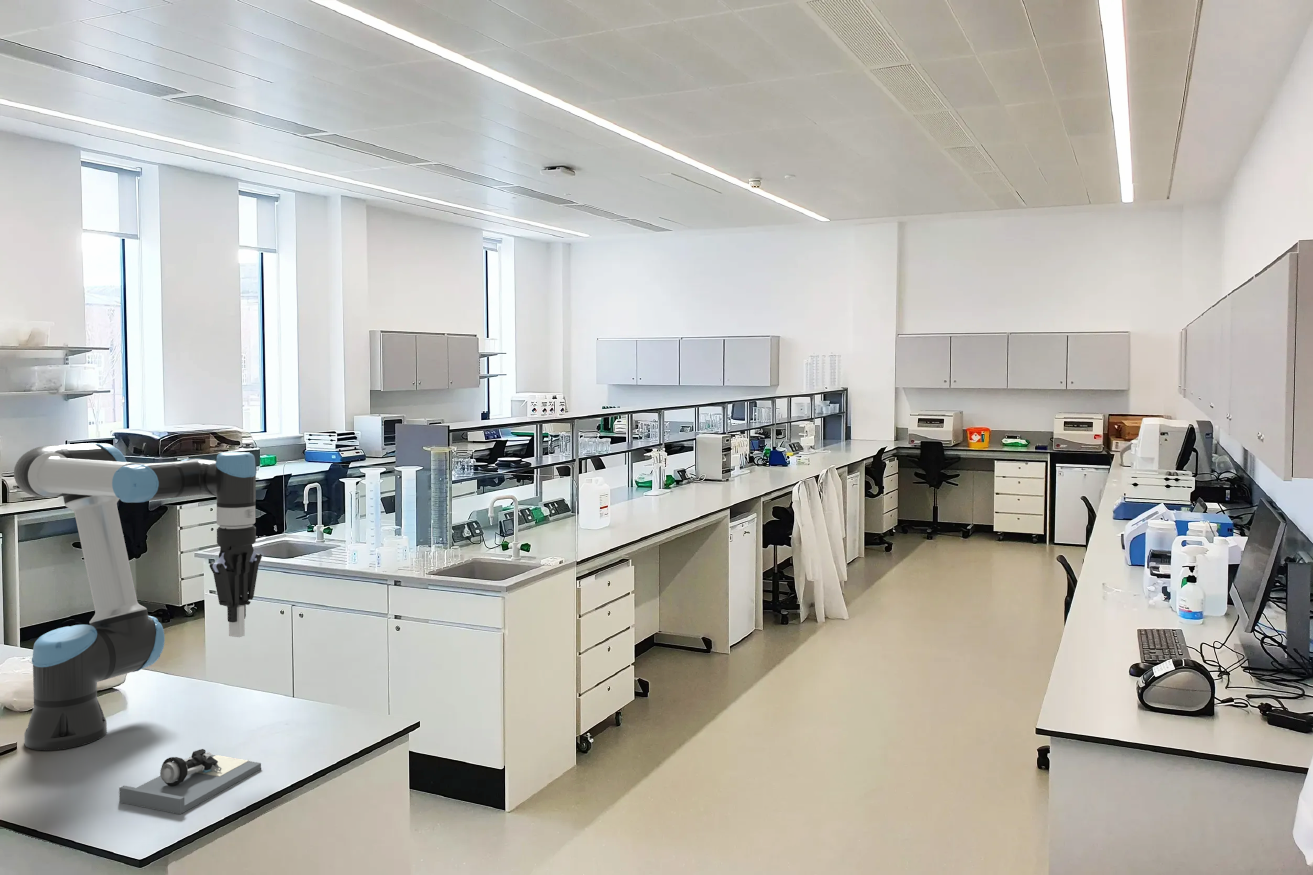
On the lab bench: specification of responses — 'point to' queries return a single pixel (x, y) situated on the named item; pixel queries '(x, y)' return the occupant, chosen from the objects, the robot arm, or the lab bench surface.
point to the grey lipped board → (188, 787)
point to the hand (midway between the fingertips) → (236, 635)
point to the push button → (187, 767)
